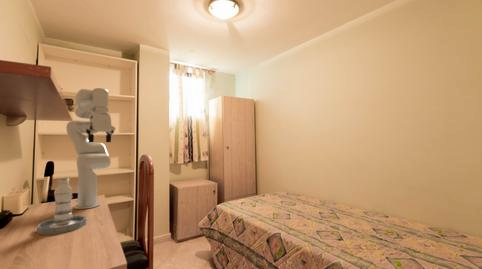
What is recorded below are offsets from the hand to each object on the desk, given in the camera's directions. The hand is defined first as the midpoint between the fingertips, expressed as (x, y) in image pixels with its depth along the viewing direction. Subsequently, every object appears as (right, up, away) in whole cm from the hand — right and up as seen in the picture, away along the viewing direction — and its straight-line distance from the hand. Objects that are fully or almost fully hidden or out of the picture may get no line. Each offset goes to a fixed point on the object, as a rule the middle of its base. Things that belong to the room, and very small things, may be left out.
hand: (100, 142), depth 125 cm
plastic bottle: (-2, -36, -23) cm, 43 cm away
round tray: (-2, -37, -23) cm, 44 cm away
